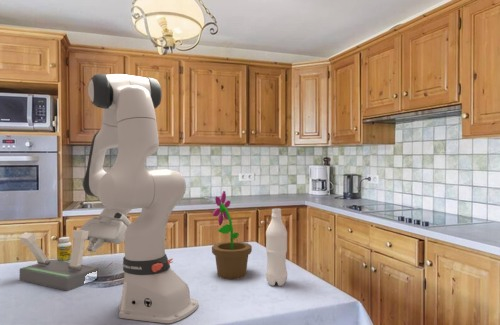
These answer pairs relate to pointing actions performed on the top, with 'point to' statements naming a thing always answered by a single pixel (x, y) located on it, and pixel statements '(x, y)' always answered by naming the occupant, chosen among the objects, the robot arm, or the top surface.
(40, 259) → the on lever
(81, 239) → the lever
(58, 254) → the supplement bottle
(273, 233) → the water bottle
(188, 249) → the top surface
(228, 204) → the flowerpot
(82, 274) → the switch box
